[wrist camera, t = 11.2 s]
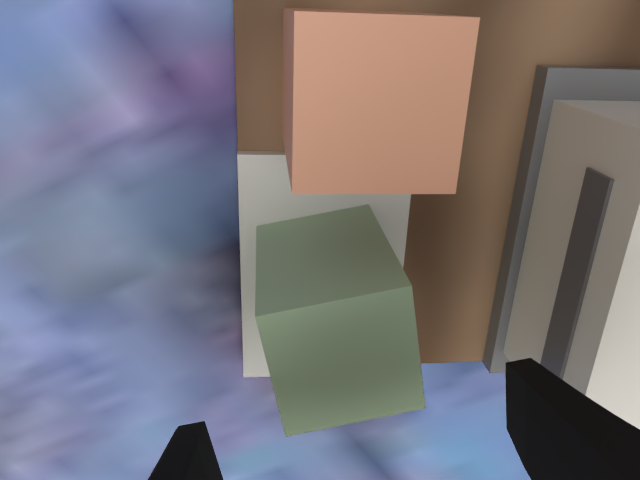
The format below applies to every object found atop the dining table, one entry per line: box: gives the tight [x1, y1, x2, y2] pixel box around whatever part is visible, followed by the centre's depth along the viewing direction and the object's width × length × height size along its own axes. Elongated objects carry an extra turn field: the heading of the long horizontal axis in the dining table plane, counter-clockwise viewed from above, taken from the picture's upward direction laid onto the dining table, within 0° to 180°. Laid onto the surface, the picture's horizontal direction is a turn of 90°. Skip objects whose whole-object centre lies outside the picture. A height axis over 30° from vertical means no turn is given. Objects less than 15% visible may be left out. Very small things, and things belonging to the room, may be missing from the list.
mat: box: [237, 151, 411, 377], centre depth 20 cm, size 6×9×1 cm, turn 178°
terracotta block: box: [282, 8, 480, 194], centre depth 15 cm, size 4×4×6 cm
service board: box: [234, 0, 640, 363], centre depth 19 cm, size 15×23×1 cm, turn 178°
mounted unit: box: [483, 65, 640, 429], centre depth 18 cm, size 5×12×6 cm, turn 178°
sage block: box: [255, 204, 426, 437], centre depth 17 cm, size 4×4×6 cm
